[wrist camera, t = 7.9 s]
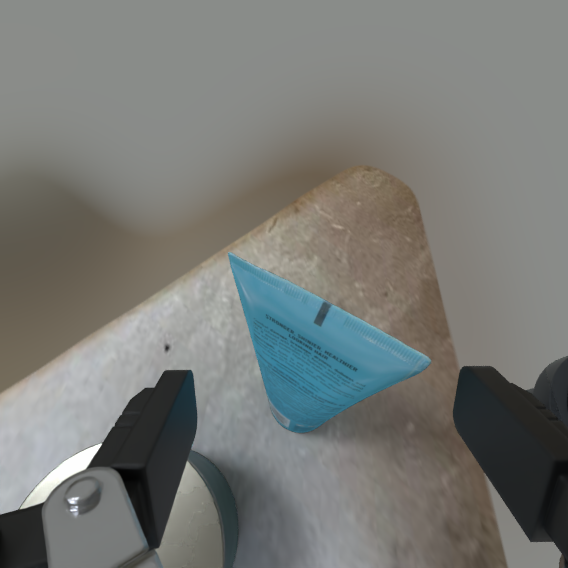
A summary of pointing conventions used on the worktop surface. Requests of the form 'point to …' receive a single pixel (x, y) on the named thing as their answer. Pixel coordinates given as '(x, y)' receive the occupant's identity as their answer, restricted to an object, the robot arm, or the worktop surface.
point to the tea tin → (177, 512)
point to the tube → (315, 350)
